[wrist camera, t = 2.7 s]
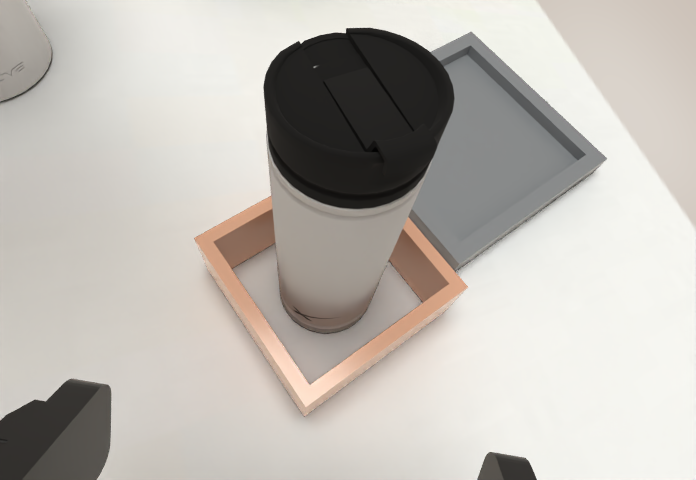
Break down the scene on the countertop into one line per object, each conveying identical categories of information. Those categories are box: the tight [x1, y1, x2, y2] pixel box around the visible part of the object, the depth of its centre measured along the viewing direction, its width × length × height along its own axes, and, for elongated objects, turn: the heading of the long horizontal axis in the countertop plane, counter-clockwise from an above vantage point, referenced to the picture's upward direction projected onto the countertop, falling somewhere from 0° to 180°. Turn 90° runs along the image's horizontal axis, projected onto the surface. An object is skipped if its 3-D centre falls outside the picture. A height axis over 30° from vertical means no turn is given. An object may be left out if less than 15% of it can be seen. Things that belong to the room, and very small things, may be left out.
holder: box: [194, 196, 468, 417], centre depth 31 cm, size 12×12×5 cm
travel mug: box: [264, 28, 455, 333], centre depth 24 cm, size 6×7×20 cm
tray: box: [408, 32, 607, 272], centre depth 38 cm, size 16×16×2 cm
